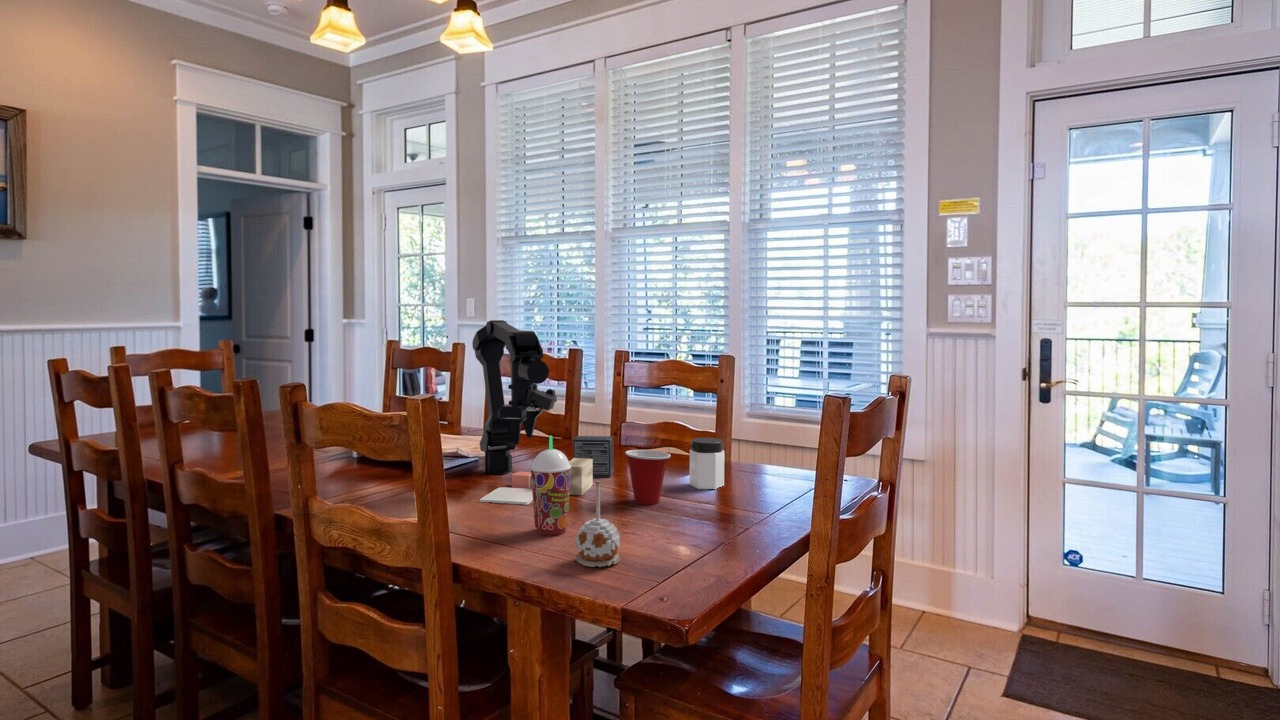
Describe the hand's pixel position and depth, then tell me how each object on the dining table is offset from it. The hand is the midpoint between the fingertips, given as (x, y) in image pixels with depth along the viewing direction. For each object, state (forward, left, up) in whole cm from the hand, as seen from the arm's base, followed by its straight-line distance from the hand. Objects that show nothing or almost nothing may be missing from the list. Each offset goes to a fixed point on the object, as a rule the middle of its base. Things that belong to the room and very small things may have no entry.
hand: (523, 440), depth 187 cm
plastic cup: (+34, -7, -12) cm, 37 cm away
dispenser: (+12, 0, -12) cm, 17 cm away
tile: (+1, -10, -12) cm, 16 cm away
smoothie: (+19, -34, -12) cm, 41 cm away
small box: (+14, +17, -12) cm, 25 cm away
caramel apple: (+33, -49, -12) cm, 60 cm away
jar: (+46, +11, -12) cm, 49 cm away
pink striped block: (+5, 0, -12) cm, 13 cm away
